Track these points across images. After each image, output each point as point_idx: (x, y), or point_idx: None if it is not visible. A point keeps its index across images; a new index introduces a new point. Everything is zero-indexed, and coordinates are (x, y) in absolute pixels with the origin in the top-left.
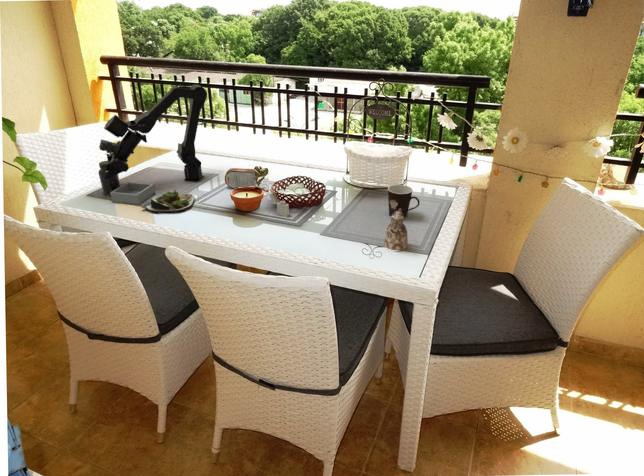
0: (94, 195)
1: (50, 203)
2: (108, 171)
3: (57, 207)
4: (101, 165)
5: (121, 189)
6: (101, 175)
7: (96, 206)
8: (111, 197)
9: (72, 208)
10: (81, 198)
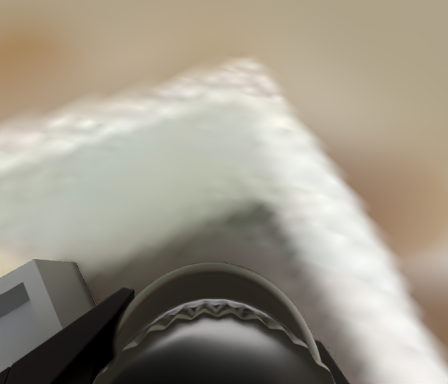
0: (241, 229)
1: (268, 85)
2: (12, 366)
3: (212, 87)
4: (151, 329)
5: None
6: (170, 272)
7: (95, 186)
8: (54, 262)
9: (159, 115)
10: (243, 174)
